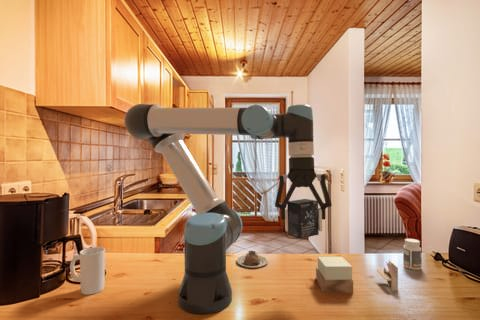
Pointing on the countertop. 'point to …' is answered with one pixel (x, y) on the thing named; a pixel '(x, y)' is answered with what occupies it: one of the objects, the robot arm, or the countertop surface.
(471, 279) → the countertop surface
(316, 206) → the box
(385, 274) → the architectural model
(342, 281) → the tower base
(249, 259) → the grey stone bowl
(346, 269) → the tower top
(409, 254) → the pill bottle
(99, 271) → the mug
